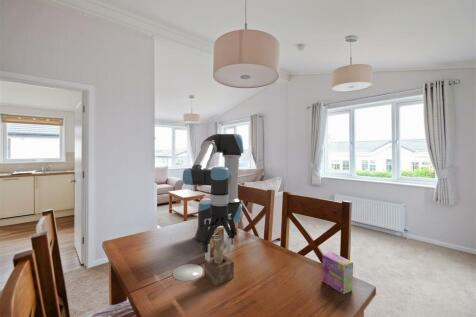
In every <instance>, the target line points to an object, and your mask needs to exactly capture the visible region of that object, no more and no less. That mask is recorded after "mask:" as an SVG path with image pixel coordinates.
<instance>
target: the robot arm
mask: <svg viewBox="0 0 476 317" xmlns="http://www.w3.org/2000/svg"><path fill="white" fill-rule="evenodd" d="M216 153H218V154H219V153H220V154H222V155H221V156H222V157H223V158H224V166H214V167H212V168H211V169H210V168H209V166H210V164H211V161H212V159H213V156H214V155H215V154H216ZM242 154H244V142H243V136H242V135H241V134H237V133H214V134H211V135H210V136H208V137H207V138H205V139H204V140H203V141H202V143H201V144H200V151H199V153H198V155H197V156H196V158H195V161H194V163H193V165H192V166H191V168H184V170H183V172H182V182H183V184H184V185H188V186H210V199H207V200H203V201H201V202H200V203H199V204H198V207H197V208H198V209H197V215H198V216H197V222H198V223H197V228H196V232H195V235H194V240H195V241H196V242H197V243H199V244H201V246H203V252H204V260H205V259H206V260H208V261H210V258H211V257H210V244H209V242H210V240H211V237H212V235H213V233H214V231H215V230H216V228H217V227H219V226H223V228H224V232H225V233H226V234H227V236H226V240H225V241H226V244H225V246H226V247H225V248H226V249H225V250H226V252H227V253H228V254H230V255H231V254H232V245H233V243H234V242H233V239H235V236H237V235H238V233H237V229H236V226H235V224H238V223H240V220H241V216H242V210H243V203H241V200H240V199H239V194H238V193H239V164H240V163H239V161H240V160H239V159H240V158H241V157H242ZM209 227H210V228H209ZM208 229H209V230H208Z"/></svg>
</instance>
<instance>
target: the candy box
mask: <svg viewBox="0 0 476 317" xmlns="http://www.w3.org/2000/svg"><path fill="white" fill-rule="evenodd" d="M209 228H210V227H209ZM208 230H209V229H208ZM224 232H225V229H224V227H223V226H219V227H217V228H216V230H215V231H214V233H213V235H212V237H211V240H210V242H209V244H210V258H211V257H214V247H215V239H223V247H224V239H225V238H224V237H225V236H224V235H225V233H224Z"/></svg>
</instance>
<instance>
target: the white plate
mask: <svg viewBox="0 0 476 317" xmlns="http://www.w3.org/2000/svg"><path fill="white" fill-rule="evenodd" d="M203 273H204V269H203V268H202V266H200V265H198V264H195V263H186V264H182V265H180V266H178V267H176V268H175V269H174V270H173V271H172V277H173V278H174V279H175V280H178V281H181V282H188V281H193V280H196V279H198V278H200V277H201V276H202V275H203Z"/></svg>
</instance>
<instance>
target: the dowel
mask: <svg viewBox="0 0 476 317" xmlns="http://www.w3.org/2000/svg"><path fill="white" fill-rule="evenodd" d="M223 255H224V246H223V239H215V247H214V262H215V263H216V264H217V265H218V264H221V263H223Z"/></svg>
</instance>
